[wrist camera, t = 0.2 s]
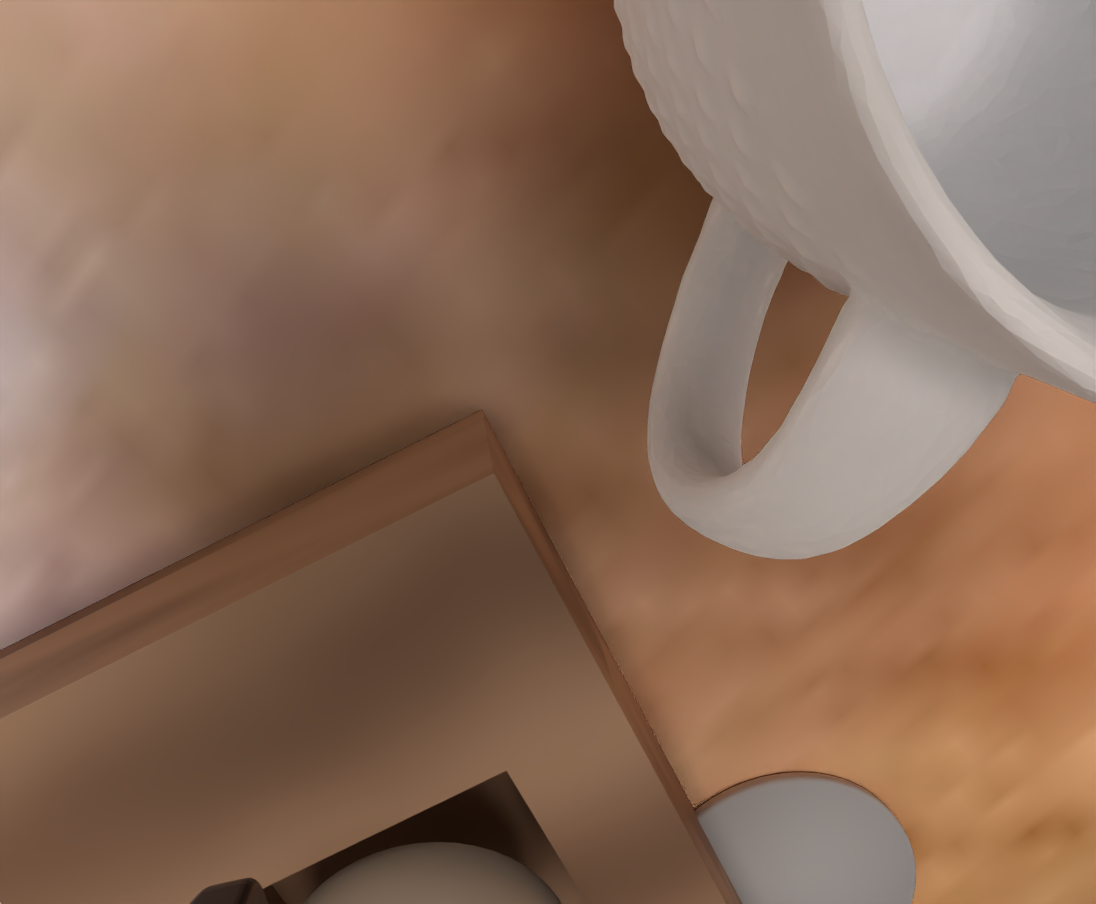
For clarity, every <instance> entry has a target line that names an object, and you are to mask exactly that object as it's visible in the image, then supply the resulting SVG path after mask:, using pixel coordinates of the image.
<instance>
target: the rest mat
mask: <svg viewBox="0 0 1096 904" xmlns="http://www.w3.org/2000/svg"><path fill="white" fill-rule="evenodd" d="M695 813H696V816H697V818H698V821H699V823H700V825H701V826H702V828H703V830H704V832H705V834H706V836H707V838H708V840H709V842H710V843H711V845H712V847H713V849H714V851H715V853H716V855H717V857H718V858H719V860H720V862H721V864H722V866H723V868H724V870H725V872H726V873H727V875H728V877H729V879H730V881H731V883H732V885H733V887H734V889H735V890H736V892H737V894H738V896H739V898H740V900H741V902H742V904H911V902H912V899H913V896H914V890H915V883H916V865H915V859H914V853H913V850H912V847H911V844H910V841H909V839H908V837H907V835H906V833H905V831H904V830H903V828H902V826H901V825H900V823H899V822H898V820H897V819H896V817H895V816H894V815H893V813H892V812H891V811H890V810H889V808H888V807H887V806H886V805H885V804H884V803H883V802H882V801H881V800H880V799H879V798H878V797H876V796H875V795H874V794H872V793H871V792H869V791H868V790H866V789H865V788H863V787H861V786H859V785H857V784H855V783H853V782H851V781H848V780H845V779H842V778H839V777H835V776H831V775H826V774H820V773H808V772H792V773H780V774H774V775H769V776H763V777H760V778H756V779H753V780H750V781H746V782H744V783H741V784H739V785H737V786H734V787H732V788H729V789H727V790H725V791H724V792H722V793H720V794H718V795H716V796H715V797H713V798H711V799H710V800H708V801H707V802H705V803H704V804H703V805H701V806H700V807H698V808H697V809H696V810H695Z"/></svg>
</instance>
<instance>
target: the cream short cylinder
mask: <svg viewBox="0 0 1096 904" xmlns="http://www.w3.org/2000/svg"><path fill="white" fill-rule="evenodd" d="M303 904H561V902H560V900H559V899H558V897H557V896H556V895H555V893H554V892H553V890H552V889H551V888H550V887H549V886H548V885H547V884H546V883H545V882H544V881H543V880H542V879H541V878H540V877H539V876H538V875H537V874H535V873H534V872H533V871H531V870H530V869H529V868H527V867H526V866H524V865H523V864H521V863H519V862H517V861H516V860H514V859H512V858H510V857H508V856H505V855H503V854H500V853H498V852H495V851H493V850H489V849H485V848H482V847H478V846H474V845H467V844H461V843H450V842H428V843H415V844H409V845H403V846H398V847H393V848H390V849H387V850H383V851H380V852H376V853H374V854H372V855H369V856H367V857H364V858H362V859H360V860H357V861H355V862H354V863H352V864H350V865H348V866H346V867H345V868H343V869H341V870H340V871H338V872H337V873H335V874H334V875H333V876H331V877H330V878H328V879H327V880H326V881H325V882H323V883H322V884H321V885H320V886H319V887H318V888H317V889H316V890H315V891H314V892H313V893H312V894H311V895H310V896H309V897H308V899H307V900H306V901H305V902H304V903H303Z"/></svg>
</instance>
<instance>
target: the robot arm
mask: <svg viewBox="0 0 1096 904" xmlns="http://www.w3.org/2000/svg"><path fill="white" fill-rule="evenodd" d="M190 904H268V902H267V899H266V895H265V893H264V890H263V888H262V886H261V885H260V883H259V882H258V881H257V880H255V879H253V878H244V879H239V880H235V881H230V882H225V883H221V884H216V885H212V886H209V887H206V888H205V889H203V890H202V891H201V892H200V893H199V894H198V895H197V896H196V897H195V898H194V899H193V900H192V901H191V902H190Z"/></svg>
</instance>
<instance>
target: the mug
mask: <svg viewBox="0 0 1096 904" xmlns="http://www.w3.org/2000/svg"><path fill="white" fill-rule="evenodd" d="M614 10H615V12H616V14H617V16H618V19H619V21H620V23H621V25H622V34H623V42H624V46H625V49H626V51H627V52H628V54H629V55H630V57H631V63H632V69H633V73H634V76H635V77H636V79H637V81H638V82H639V84H640V85H641V87H642V88H643V90H644V92H645V97H646V101H647V103H648V105H649V109H650V110H651V112H652V113H653V114H654V115H655V117H656V118H657V119H658V121H659V124H660V127H661V130H662V133H663V134H664V136H665V137H666V138H667V139H668V140H669V141H670V142H671V143H672V144H673V147H674V148H675V150H676V151H677V152H678V154H679V156H680V159H681V161H682V163H683V164H684V165H685V166H686V167H687V168H688V169H689V170H690V171H691V172H692V173H693V175H694V176H695V178H696V180H697V181H699V182H700V183H701V185H702V187H703V189H704V190H705V191H706V192H707V193H708V194H710V195H711V196H712V197H713V200H712V202H711V204H710V207H709V210H708V212H707V215H706V218H705V221H704V224H703V227H702V230H701V233H700V235H699V238H698V241H697V243H696V246H695V248H694V250H693V253H692V255H691V258H690V260H689V263H688V265H687V267H686V270H685V272H684V275H683V277H682V280H681V283H680V286H679V290H678V293H677V296H676V300H675V303H674V307H673V310H672V313H671V317H670V320H669V323H668V327H667V330H666V334H665V337H664V340H663V344H662V347H661V352H660V356H659V360H658V365H657V369H656V373H655V378H654V382H653V387H652V392H651V398H650V403H649V414H648V429H647V453H648V459H649V464H650V468H651V472H652V476H653V479H654V482H655V485H656V487H657V490H658V492H659V494H660V496H661V498H662V499H663V501H664V502H665V503H666V505H667V506H668V507H669V509H670V510H671V511H672V512H673V513H674V514H675V515H676V516H677V517H678V518H679V519H681V520H682V521H683V522H684V523H685V524H686V525H688V526H689V527H691V528H692V529H694V530H695V531H697V532H699V533H700V534H702V535H703V536H705V537H707V538H709V539H711V540H713V541H715V542H717V543H720V544H722V545H725V546H727V547H729V548H732V549H734V550H737V551H740V552H743V553H747V554H750V555H754V556H758V557H764V558H772V559H806V558H810V557H814V556H819V555H823V554H827V553H830V552H834V551H837V550H839V549H842V548H844V547H847V546H848V545H850V544H852V543H854V542H856V541H858V540H860V539H862V538H864V537H865V536H867V535H869V534H870V533H872V532H874V531H875V530H877V529H879V528H880V527H881V526H883V525H884V524H885V523H887V522H888V521H889V520H891V519H892V518H893V517H895V516H896V515H897V514H899V513H900V512H901V511H903V510H904V509H906V508H907V507H908V506H910V505H911V504H912V503H913V502H914V501H916V500H917V499H918V498H919V497H920V496H921V495H922V494H924V493H925V492H926V491H927V490H928V489H929V488H931V487H932V486H933V485H934V484H935V483H936V482H937V481H939V480H940V479H941V478H942V477H943V476H944V475H945V474H946V473H947V472H948V470H949V469H950V468H951V467H952V466H953V465H954V464H955V463H956V462H957V461H958V460H959V459H960V458H961V457H962V456H963V455H964V454H965V453H966V452H967V451H968V449H969V448H970V447H971V446H972V444H973V443H974V442H975V440H976V439H977V438H978V437H979V435H980V434H981V433H982V431H983V430H984V429H985V428H986V426H987V425H988V424H989V422H990V421H991V420H992V418H993V417H994V416H995V415H996V413H997V412H998V411H999V409H1000V408H1001V407H1002V405H1003V404H1004V402H1005V400H1006V398H1007V396H1008V394H1009V392H1010V390H1011V388H1012V386H1013V383H1014V381H1015V379H1016V377H1018V376H1019V375H1020V374H1023V375H1027V376H1029V377H1032V378H1034V379H1037V380H1039V381H1042V382H1044V383H1047V384H1049V385H1051V386H1054V387H1056V388H1059V389H1061V390H1064V391H1066V392H1069V393H1071V394H1074V395H1076V396H1078V397H1081V398H1083V399H1086V400H1088V401H1091V402H1093V403H1096V0H614ZM788 261H789V262H790V263H791V264H792V265H794V266H795V267H797V268H798V269H800V270H802V271H804V272H807V273H809V274H811V275H813V276H814V277H815V278H816V279H817V280H818V281H819V282H820V283H821V284H822V285H823V286H825V287H826V288H827V289H829V290H832V291H835V292H837V293H839V294H842V295H845V296H849V297H848V299H847V300H846V302H845V304H844V305H843V307H842V309H841V311H840V313H839V315H838V317H837V319H836V321H835V324H834V326H833V328H832V330H831V332H830V334H829V336H828V338H827V340H826V343H825V345H824V347H823V349H822V351H821V353H820V355H819V357H818V359H817V361H816V363H815V365H814V367H813V369H812V371H811V373H810V375H809V377H808V379H807V381H806V383H805V384H804V386H803V388H802V390H801V392H800V394H799V395H798V397H797V399H796V400H795V402H794V404H793V405H792V407H791V409H790V411H789V413H788V414H787V416H786V418H785V420H784V422H783V424H782V425H781V427H780V428H779V429H778V431H777V432H776V433H775V434H774V435H773V436H772V438H771V439H770V440H769V441H768V442H767V444H766V445H765V446H764V448H763V449H762V450H761V451H760V453H759V454H758V455H756V456H755V457H754V458H753V459H752V460H751V461H749V462H747V463H745V464H744V465H742V451H741V434H742V421H743V414H744V406H745V399H746V392H747V386H748V380H749V375H750V370H751V366H752V362H753V358H754V354H755V350H756V346H757V343H758V339H759V336H760V332H761V329H762V325H763V322H764V318H765V315H766V312H767V310H768V307H769V305H770V302H771V299H772V297H773V294H774V291H775V289H776V287H777V285H778V283H779V281H780V279H781V276H782V273H783V271H784V268H785V266H786V264H787V262H788Z"/></svg>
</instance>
